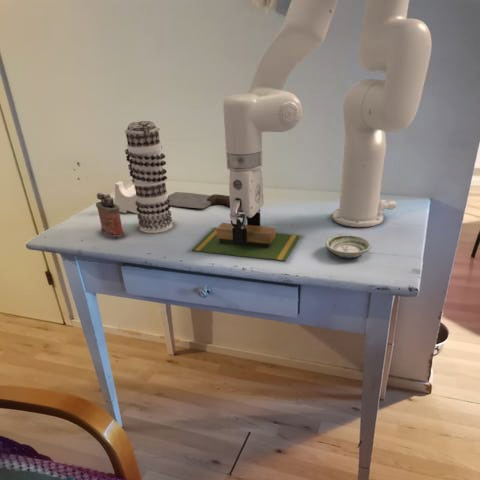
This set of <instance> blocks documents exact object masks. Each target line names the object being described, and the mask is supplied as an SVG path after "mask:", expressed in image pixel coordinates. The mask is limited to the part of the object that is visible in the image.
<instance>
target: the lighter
mask: <svg viewBox="0 0 480 480" xmlns="http://www.w3.org/2000/svg"><path fill="white" fill-rule="evenodd" d="M96 198H97V200H100V201H97V202H96V203H95V207H96V208H97V212H98V217H99V221H100V227H101V228H100V229H101V233H102V234H103V235H104V236H106V237H108V238H111V239H115V240H119V239H123V238H125V232H124V230H123V225H122V220H121V214H120V211H119V206H117V205H116V204H114V202H115V200H114V198H113V196H112V197H111V195H110V194H109V193H108V194H105V193H101V192H98V193H97V194H96Z"/></svg>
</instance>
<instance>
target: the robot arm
mask: <svg viewBox="0 0 480 480" xmlns="http://www.w3.org/2000/svg"><path fill="white" fill-rule="evenodd" d="M339 1H340V0H290V3H289V6H288V8H287V12H286V15H285V18H284V21H283V23H282V25H281V28H280V30H279V31H278V32H277V34H276V35H275V36H274V38H273V39H272V41H271V42H270V44H269V45H268V47H267V49H266V50H265V52H264V53H263V55H262V57H261V59H260V60H259V62H258V64H257V66H256V68H255V71H254V74H253V77H252V80H251V83H250V86H249V89H248V93H235V94H229V95H228V96H226V97H225V98H224V100H223V103H222V104H223V108H222V110H223V125H224V140H225V159H226V169H227V170H229V183H228V184H229V196H230V206H229V209H230V212H229V218H230V223H231V224H232V233H233V244H235V245H247V228H245V225H254V226H261V209H262V207H263V206H264V200H265V199H264V185H263V184H264V183H263V172H262V168H263V135H262V134H263V133H284V132H288V131H291V130H293V129H295V127H297V126H298V124H299V123H300V122H301V119H302V117H303V104H302V102H301V100H300V99H299V98H298V96H296V94H293V92H290V91H287V90H283V88H284V86H285V83H286V81H287V80H288V78H289V76H290V75H291V73H292V71H293V70H294V69H295V68H296V66H297V65H298V64H299V63H300V62H302V61H303V60H305V59H306V58H307V57H309V56H310V55H311V54H313V53H314V52H316V51H317V50H318V48H320V47H321V46H322V44H323V43H324V41H325V39H326V37H327V34H328V31H329V27H330V25H331V22H332V19H333V17H334V14H335V12H336V9H337V7H338V3H339ZM409 5H410V0H365V5H364V12H363V18H362V25H361V26H362V27H361V31H360V37H359V38H360V39H359V44H358V53H357V57H358V58H357V59H358V63H359V65H360V67H361V68H362V69H364V70H366V71H368V72H372V73H379V74H385V79H384V80H383V79H376V78H375V79H374V78H367V79H362V80H359V81H357V82H355V83H354V84H352V85H351V86H350V87H349V88H348V89H347V92H346V93H345V96H344V99H343V104H342V106H343V107H342V111H343V112H342V113H343V125H344V149H343V159H342V171H341V183H340V196H339V207H338V209H336V210H334V211H333V212H332V219H333V221H334V222H335V223H337V224H339V225H341V226H345V227H352V228H369V227H374V226H378V225H379V224H382V222H383V221H384V214H383V212H384V211H385V210H394V209H396V207H397V202H396V201H395V200H391V201H386V199H380V197H381V191H382V190H381V189H382V181H383V174H384V165H385V158H386V152H387V151H386V150H387V138H386V133H400V132H402V131H404V130H406V129H407V128H408V127H409V126H410V125H411V124H412V123H413V121H414V120H415V117H416V115H417V113H418V110H419V106H420V103H421V99H422V95H423V90H424V86H425V82H426V77H427V73H428V69H429V65H430V60H431V55H432V46H433V45H432V44H433V43H432V35H431V31H430V29H429V27H428V25H426V23H425V22H423V21H422V20H420V19H416V18H407V17H408V10H409Z"/></svg>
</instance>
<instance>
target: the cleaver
mask: <svg viewBox="0 0 480 480" xmlns="http://www.w3.org/2000/svg"><path fill="white" fill-rule="evenodd" d="M168 198H169V200H170V202H169V203H168V204H170V206H173V207H174V206H175V207H181V208H182V207H183V208H191V209H205V208H207V207H209V206H212V205H219V204H220V205H224V206H227V207H230V195H225V194H218V193H215V194H214V193H213V194H212V195H211V194H202V193H193V192H184V191H175V192H172V193H171V194H168Z"/></svg>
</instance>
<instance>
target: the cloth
mask: <svg viewBox="0 0 480 480" xmlns="http://www.w3.org/2000/svg"><path fill="white" fill-rule="evenodd" d="M217 228H218V227H213V229H212V230H210V232H209V233H207V234H206V235H205V237H203V238H202V239H201V240H200V241H199V242H198V243H197V244H196V245H195V246H194V247H193V248H192V249H191V252H196V253H197V252H198V253H205V254H206V253H207V254H217V255H225V256H233V257H243V258H250V259H258V260H259V259H260V260H267V261H268V260H271V261H277V262H278V261H279V262H286V261H287V260H288V258H289V256H290V255H291V253H292V251H293V250H294V248H295V246H296V244H297V243H298V241H299V240H300V238H301V235H300V234H299V235H297V234H288V233H287V234H286V233H276V232H275V238H274V240H273V243H272V244H271V246H270V247H269V248H262V247H253V246H243V245H233V244H224V243H220V241H219V239H218V238H217V232H216V229H217Z"/></svg>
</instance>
